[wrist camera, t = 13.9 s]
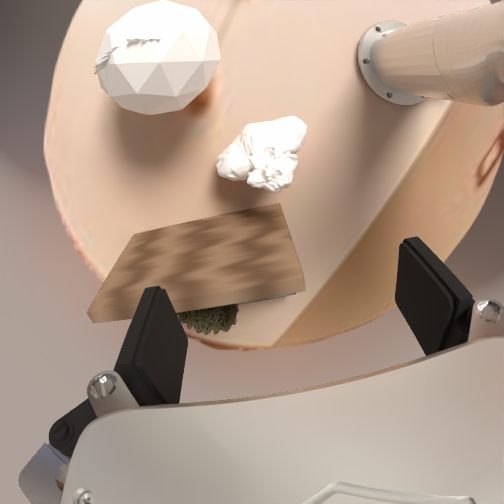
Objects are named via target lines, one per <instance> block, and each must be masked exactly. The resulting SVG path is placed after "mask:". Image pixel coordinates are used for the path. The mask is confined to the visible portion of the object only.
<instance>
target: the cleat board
mask: <svg viewBox="0 0 504 504" xmlns="http://www.w3.org/2000/svg"><path fill="white" fill-rule="evenodd" d="M153 286H160V287H161V289H163V288H164V289H165V290H166V292H167V294H168V296H169V298H170V301H171V303H172V305H173V307H174V310H175V312H176V314H177V313H178V312H185V311H191V310H198V309H204V308H211V307H217V306H223V305H229V304H235V303H237V305H238V304H244V303H250V302H256V301H261V300H267V299H272V298H278V297H283V296H288V295H294V294H296V292H301V291H306V289H305V280H304V275H303V272H302V269H301V266H300V263H299V259H298V256H297V253H296V250H295V247H294V244H293V241H292V238H291V235H290V232H289V229H288V226H287V223H286V220H285V217H284V214H283V211H282V208H281V205H280V204H275V205H269V206H264V207H259V208H254V209H249V210H244V211H239V212H234V213H229V214H224V215H219V216H214V217H209V218H205V219H200V220H195V221H191V222H186V223H182V224H177V225H173V226H168V227H164V228H160V229H155V230H151V231H147V232H142V233H138V234H134V235H133V237H132V238H131V240H130V241H129V243H128V244H127V246H126V247H125V249H124V251H123V252H122V254H121V255H120V257H119V259H118V260H117V262H116V263H115V265H114V267H113V268H112V270H111V271H110V273H109V275H108V276H107V278H106V280H105V281H104V283H103V285H102V287H101V288H100V290H99V292H98V294H97V295H96V297H95V299H94V300H93V302H92V304H91V306H90V308H89V309H88V311H87V314H88V315H89V317H90V319H91V320H92V322H93V323H100V322H109V321H117V320H125V319H133V316H134V314H135V311H136V309H137V306H138V304H139V301H140V299H141V296H142V294H143V291H144V289H145V288H147V287H153Z"/></svg>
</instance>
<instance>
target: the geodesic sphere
mask: <svg viewBox="0 0 504 504" xmlns="http://www.w3.org/2000/svg"><path fill="white" fill-rule="evenodd" d="M220 60H221V58H220V52H219V46H218V40H217V33H216V32H215V31H214V30H213V28H212V27H211V26H210V25H209V23H208V22H207V21H206V20H205V19H204V18H203V16H202V15H201V14H200V13H199V12H198V10H197V9H194V8H190V7H187V6H183V5H180V4H176V3H172V2H168V1H164V0H163V1H159V2H155V3H150V4H146V5H143V6H139V7H135V8H133V9H132V10H131V11H129V12H128V13H127V14H126V15H124V16H123V17H122V18H121V19H119V20H118V21H117V22H116V23H114V24H113V25H112V26H111V27H110V28H108V29H107V30H106V32H105V35H104V38H103V41H102V44H101V47H100V50H99V53H98V56H97V59H96V62H95V65H96V67H95V68H96V72H95V73H94V74H96V73H98V77H99V81H100V85H101V88H102V89H103V90H104V91H105V92H106V93H107V94H108V95H109V96H110V97H111V98H112V99H113V100H114V101H115V102H116V103H118V104H119V105H120V106H121V107H122V108H123V109H127V110H131V111H134V112H138V113H142V114H149V115H155V114H161V113H166V112H172V111H178V110H182V109H183V108H184V107H185V106H187V105H188V104H189V103H190V102H191V101H192V100H193V99H194V98H195V97H197V96H198V95H199V94H200V93H201V92H202V91H203V90H204V89H206V88H207V86H208V84H209V82H210V80H211V78H212V76H213V74H214V72H215V70H216V68H217V66H218V64H219V62H220Z"/></svg>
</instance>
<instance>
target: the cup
mask: <svg viewBox="0 0 504 504" xmlns="http://www.w3.org/2000/svg"><path fill="white" fill-rule="evenodd" d="M238 312H239V310H238V305H237V303H235V304H229V305H223V306H217V307H211V308H204V309H198V310H191V311H185V312H178V313H177V315H179V321H180V323H187V327H188V329H190V328H192V326H193V325H194V328H195V329H196V331H197V333H201V332H203V333H204V334H205V335H207V334H209V333H210V332H211V330H212V329H213V330H212V331H214V334H217V333H218V332H219V330H222V331H225V332H227V331H228V330H229V329H230V328H231V326H232V324H233V325H235V324H236V321H237V320H236V315H237V314H238Z"/></svg>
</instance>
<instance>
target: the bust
mask: <svg viewBox="0 0 504 504" xmlns="http://www.w3.org/2000/svg"><path fill="white" fill-rule="evenodd" d="M306 133H307V126H306V125H305V124H304V123H303V121H302V120H299V119H298V118H297V117H295V116H290V117H283V118H280V119H278V120H274V121H266V122H260V123H253V124H252V123H250V124H248V125H246V126H245V128H244V129H243V130H242V132H241V133H240V134H239V135H238V137H237V138H236V139H235V140H234V141H233V143H232V144H231V145H230V146H228V148H226V149H225V150H224V151H223V152H222V153H221V155H219V156H218V157H217V160H216V161H217V165H216V168H217V170H218V175H219V176H221V177H224V178H228V179H230V180H232V181H237V180H242V181H243V180H246V179H247V178H248V179H247V184H249V185H251V186H252V187H255V188H260V189H261V188H264V189H266V190H268V191H270V192H273V193H278V192H280V191H281V190H282V189H284V188H287V187H289V186H290V185H291V183H292V179H293V174H294V172H293V171H295V169H296V166H297V164H298V160H297V159H298V157H297V155H294V153H295V152H297V151H299V150H300V148H301V146H302V145H303V144H304V143H305V141H306Z"/></svg>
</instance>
